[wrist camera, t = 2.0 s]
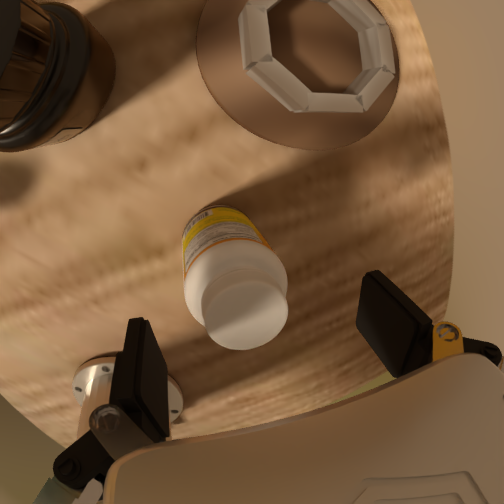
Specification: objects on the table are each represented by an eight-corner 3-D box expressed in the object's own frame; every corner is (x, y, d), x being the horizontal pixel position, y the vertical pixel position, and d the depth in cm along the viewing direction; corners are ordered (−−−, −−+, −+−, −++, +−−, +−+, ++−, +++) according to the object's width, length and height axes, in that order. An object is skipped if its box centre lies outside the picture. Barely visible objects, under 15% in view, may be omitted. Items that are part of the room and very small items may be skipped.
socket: (392, 146, 22) (423, 153, 18) (207, 159, 19) (213, 166, 16) (374, -12, 15) (401, -25, 11) (190, -32, 12) (193, -59, 9)
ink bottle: (-5, 113, 13) (-111, 127, 2) (55, 15, 11) (-24, -45, 1) (77, 167, 17) (-22, 218, 6) (146, 61, 15) (107, -15, 5)
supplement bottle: (246, 273, 24) (287, 361, 15) (178, 267, 22) (181, 362, 13) (260, 207, 22) (320, 270, 13) (187, 197, 20) (193, 259, 11)
